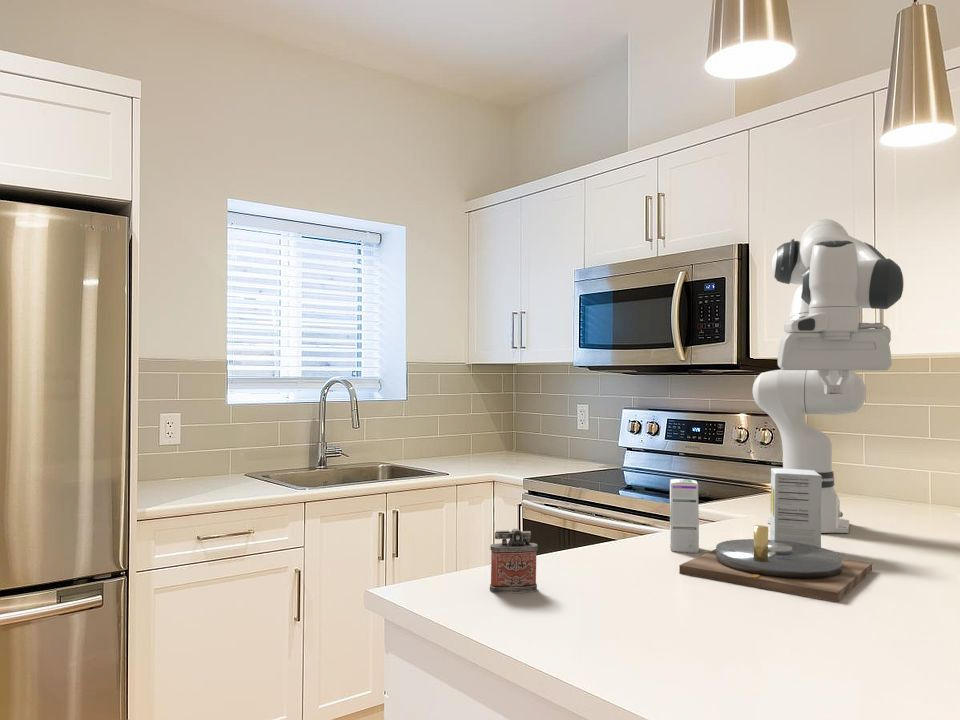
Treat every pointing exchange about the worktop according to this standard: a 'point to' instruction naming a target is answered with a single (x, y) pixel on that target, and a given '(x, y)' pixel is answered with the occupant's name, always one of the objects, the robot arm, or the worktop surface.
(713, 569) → the stand plate
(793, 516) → the supplement box
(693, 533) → the syrup box
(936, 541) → the worktop surface
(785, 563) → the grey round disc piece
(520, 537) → the lighter
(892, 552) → the worktop surface
